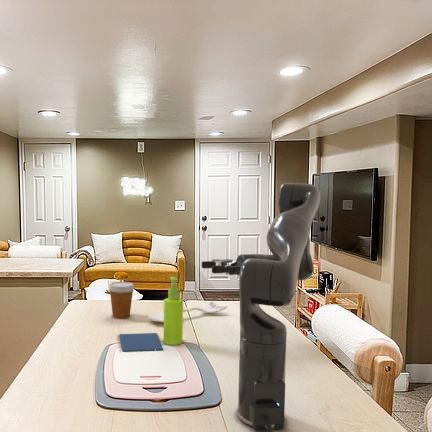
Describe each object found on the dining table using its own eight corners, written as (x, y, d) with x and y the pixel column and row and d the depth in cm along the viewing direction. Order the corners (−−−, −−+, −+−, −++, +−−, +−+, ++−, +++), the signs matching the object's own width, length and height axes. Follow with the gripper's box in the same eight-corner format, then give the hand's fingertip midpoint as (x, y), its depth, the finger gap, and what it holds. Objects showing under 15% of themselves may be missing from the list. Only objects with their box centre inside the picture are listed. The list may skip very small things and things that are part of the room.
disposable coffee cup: (104, 314, 163) (104, 282, 162) (128, 311, 167) (128, 280, 166) (113, 321, 154) (114, 288, 153) (138, 318, 158) (138, 285, 157)
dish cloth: (163, 350, 127) (163, 348, 127) (122, 351, 125) (122, 350, 125) (156, 334, 141) (156, 333, 141) (119, 335, 139) (119, 334, 139)
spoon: (227, 314, 164) (228, 305, 163) (157, 327, 147) (157, 317, 147) (212, 308, 171) (212, 300, 171) (143, 320, 155) (143, 311, 154)
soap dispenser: (180, 337, 138) (181, 275, 137) (183, 344, 131) (184, 279, 130) (162, 337, 138) (163, 275, 137) (164, 344, 131) (165, 279, 130)
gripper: (243, 251, 146) (198, 252, 142) (265, 257, 132) (216, 258, 128) (243, 273, 146) (198, 274, 142) (264, 281, 133) (215, 283, 129)
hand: (206, 267), depth 135 cm, fingers open, 8 cm apart
